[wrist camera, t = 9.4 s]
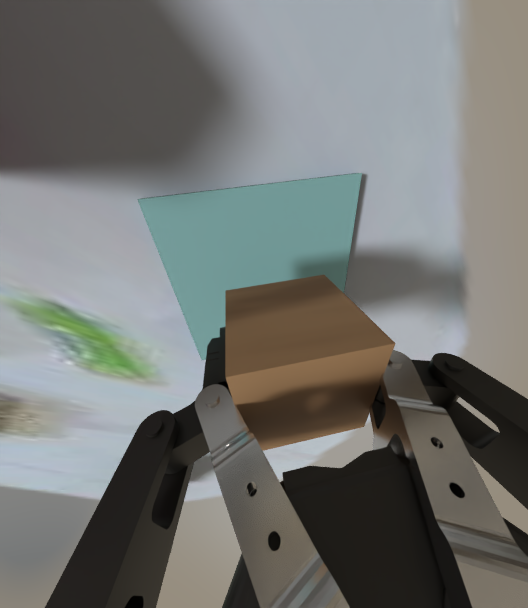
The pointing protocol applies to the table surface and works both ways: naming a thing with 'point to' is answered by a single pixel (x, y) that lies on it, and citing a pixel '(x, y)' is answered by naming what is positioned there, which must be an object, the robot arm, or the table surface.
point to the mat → (250, 241)
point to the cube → (301, 360)
